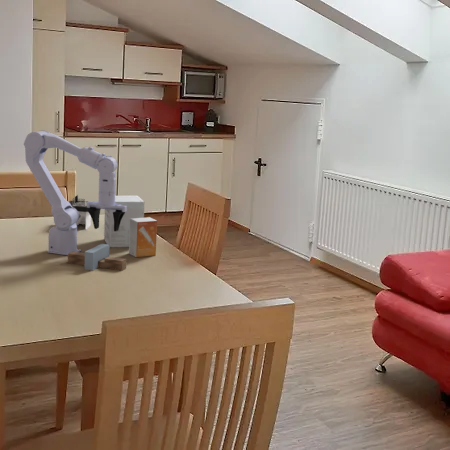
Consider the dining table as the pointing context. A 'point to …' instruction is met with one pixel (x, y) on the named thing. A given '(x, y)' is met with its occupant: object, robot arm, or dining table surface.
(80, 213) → the black-topped pedestal
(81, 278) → the dining table surface
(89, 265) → the plain blue-gray board
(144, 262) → the dining table surface
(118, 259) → the notched rail
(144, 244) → the small box
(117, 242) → the supplement box
